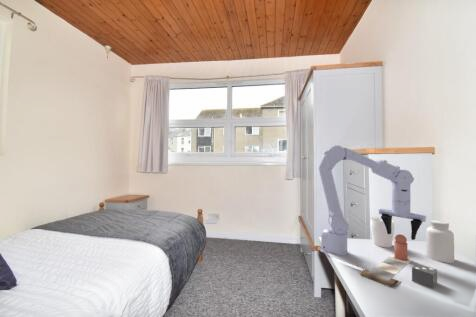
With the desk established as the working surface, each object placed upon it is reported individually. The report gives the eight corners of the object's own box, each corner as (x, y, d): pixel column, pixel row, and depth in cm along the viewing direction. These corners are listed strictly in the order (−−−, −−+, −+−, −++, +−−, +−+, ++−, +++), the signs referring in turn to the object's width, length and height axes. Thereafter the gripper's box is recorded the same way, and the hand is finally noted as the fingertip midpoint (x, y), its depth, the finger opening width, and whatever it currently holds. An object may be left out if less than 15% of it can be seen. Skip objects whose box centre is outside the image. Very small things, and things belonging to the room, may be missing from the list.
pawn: (392, 257, 84) (392, 234, 85) (396, 255, 87) (396, 232, 87) (405, 261, 81) (405, 237, 82) (408, 258, 84) (408, 235, 84)
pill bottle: (425, 254, 90) (425, 218, 91) (453, 260, 85) (452, 221, 86) (426, 261, 84) (426, 222, 85) (455, 267, 79) (455, 226, 80)
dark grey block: (411, 284, 68) (411, 267, 68) (416, 279, 71) (416, 263, 71) (433, 291, 64) (433, 274, 64) (437, 286, 67) (437, 269, 67)
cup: (386, 243, 103) (387, 217, 103) (399, 251, 94) (399, 223, 94) (366, 242, 104) (366, 217, 104) (376, 250, 95) (376, 222, 95)
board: (360, 275, 73) (360, 271, 73) (391, 254, 90) (391, 251, 90) (392, 287, 66) (392, 283, 66) (418, 262, 83) (418, 259, 83)
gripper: (428, 202, 81) (428, 239, 81) (383, 197, 93) (383, 229, 92) (422, 204, 77) (422, 243, 77) (376, 198, 88) (376, 232, 88)
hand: (400, 236), depth 84 cm, fingers open, 7 cm apart
